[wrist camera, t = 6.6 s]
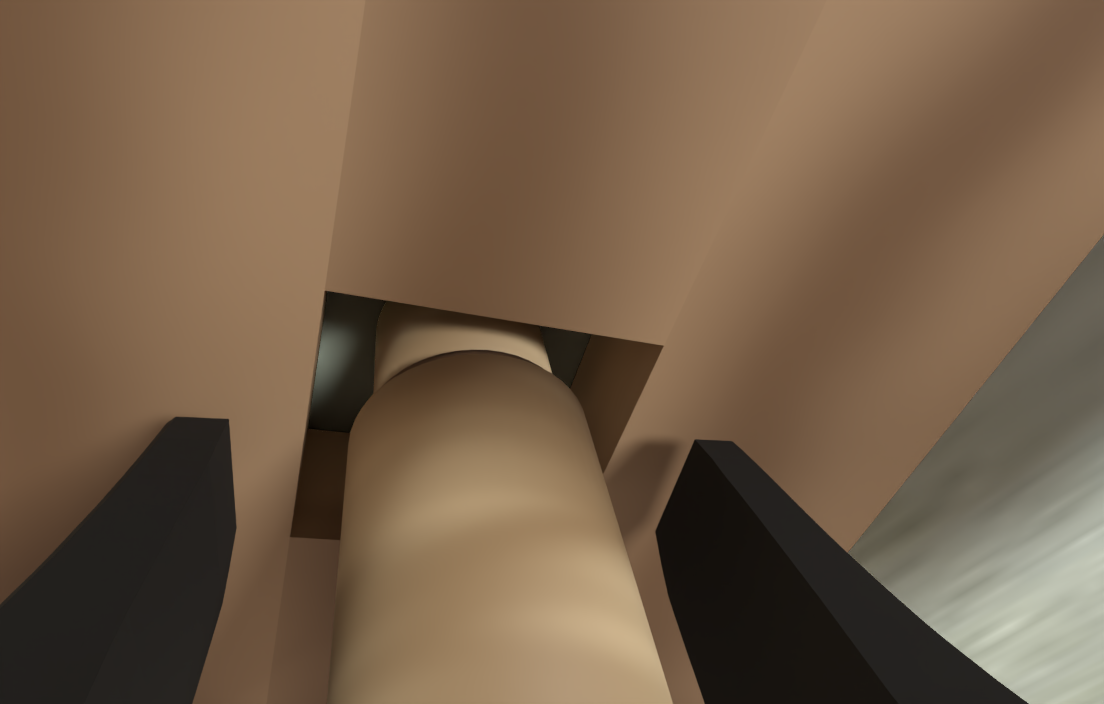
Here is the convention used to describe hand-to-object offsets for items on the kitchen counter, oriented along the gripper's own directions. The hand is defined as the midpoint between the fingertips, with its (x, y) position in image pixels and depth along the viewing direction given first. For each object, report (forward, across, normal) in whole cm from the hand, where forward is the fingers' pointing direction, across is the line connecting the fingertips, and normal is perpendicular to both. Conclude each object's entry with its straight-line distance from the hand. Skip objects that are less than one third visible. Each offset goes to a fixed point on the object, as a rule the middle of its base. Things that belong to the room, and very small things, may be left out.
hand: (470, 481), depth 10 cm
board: (+3, 0, 0) cm, 3 cm away
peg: (+3, 0, 0) cm, 3 cm away
